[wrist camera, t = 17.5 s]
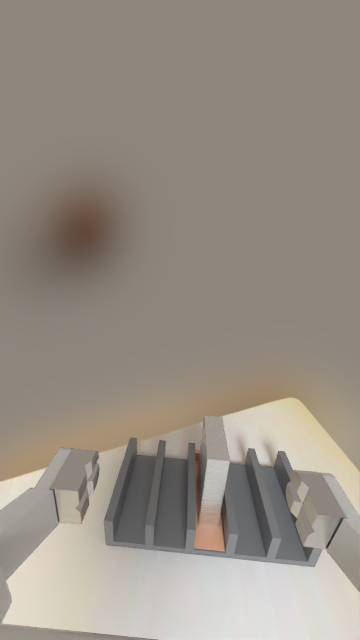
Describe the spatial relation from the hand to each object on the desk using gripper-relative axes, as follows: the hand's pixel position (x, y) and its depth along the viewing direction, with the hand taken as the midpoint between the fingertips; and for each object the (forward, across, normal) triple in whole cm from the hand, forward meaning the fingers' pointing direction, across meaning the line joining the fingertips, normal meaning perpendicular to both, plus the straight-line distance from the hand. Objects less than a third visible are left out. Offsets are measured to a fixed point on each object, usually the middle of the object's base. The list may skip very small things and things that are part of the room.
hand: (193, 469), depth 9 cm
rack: (+19, -6, +34) cm, 39 cm away
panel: (+19, -6, +32) cm, 38 cm away
